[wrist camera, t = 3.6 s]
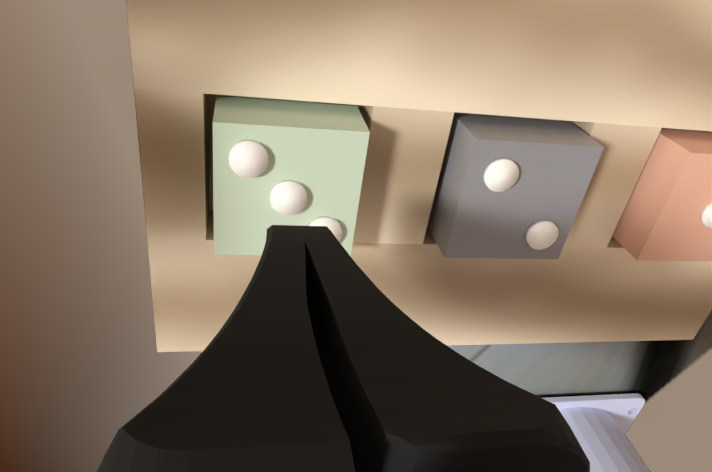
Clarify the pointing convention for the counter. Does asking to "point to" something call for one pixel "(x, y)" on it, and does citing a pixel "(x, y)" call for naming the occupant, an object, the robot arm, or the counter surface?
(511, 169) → the charcoal tile
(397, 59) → the tile panel
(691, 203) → the terracotta tile
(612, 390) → the counter surface
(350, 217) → the sage tile
